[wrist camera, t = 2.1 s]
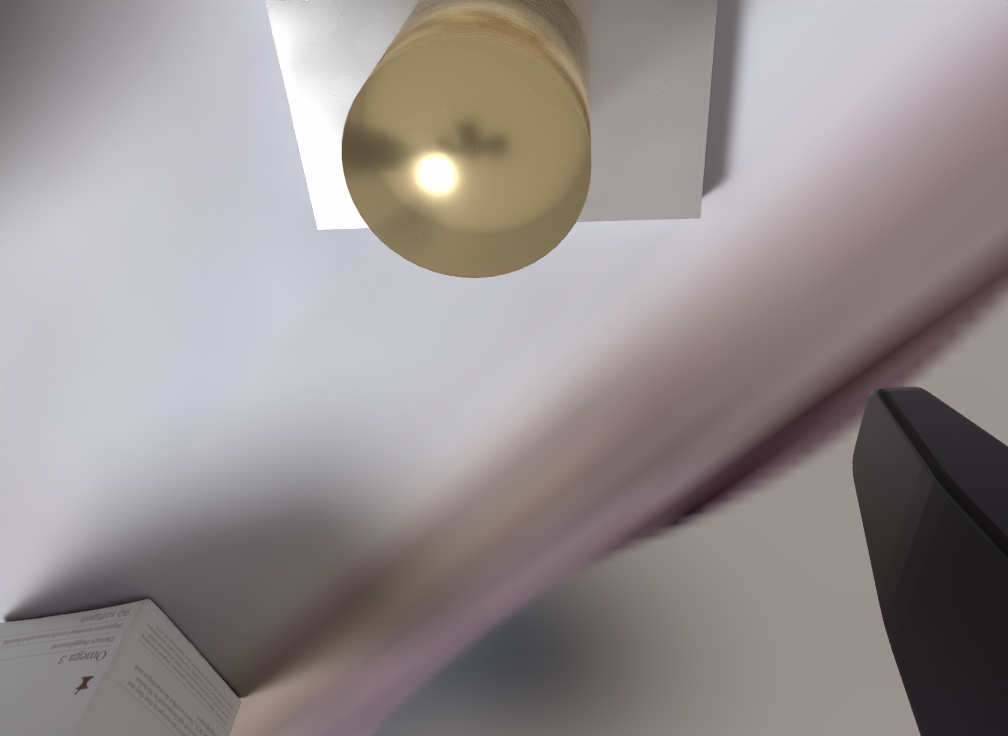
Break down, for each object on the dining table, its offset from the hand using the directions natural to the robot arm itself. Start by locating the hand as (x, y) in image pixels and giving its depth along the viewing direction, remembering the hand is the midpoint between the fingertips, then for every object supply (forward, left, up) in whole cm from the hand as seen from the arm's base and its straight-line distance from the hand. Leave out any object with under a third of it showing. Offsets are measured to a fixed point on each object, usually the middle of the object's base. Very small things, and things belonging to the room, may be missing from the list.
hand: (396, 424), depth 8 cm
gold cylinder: (0, 0, -11) cm, 11 cm away
